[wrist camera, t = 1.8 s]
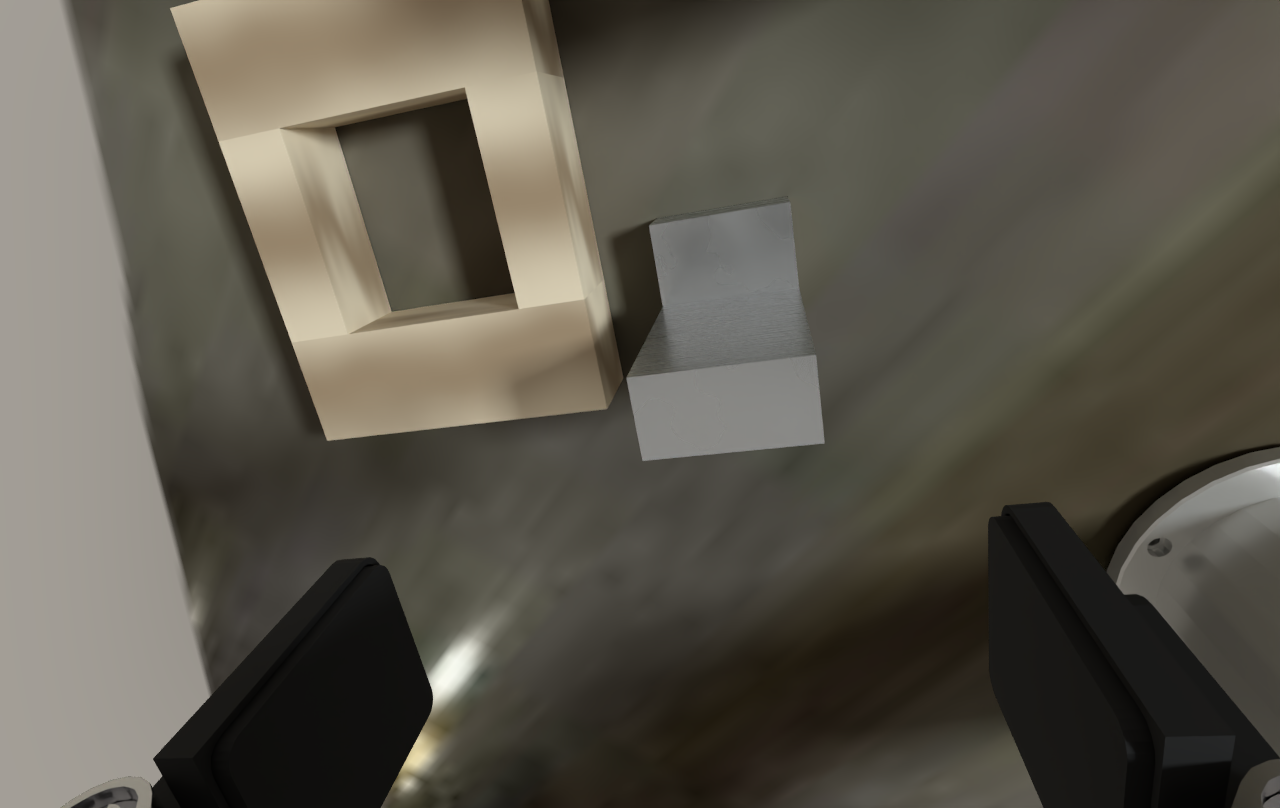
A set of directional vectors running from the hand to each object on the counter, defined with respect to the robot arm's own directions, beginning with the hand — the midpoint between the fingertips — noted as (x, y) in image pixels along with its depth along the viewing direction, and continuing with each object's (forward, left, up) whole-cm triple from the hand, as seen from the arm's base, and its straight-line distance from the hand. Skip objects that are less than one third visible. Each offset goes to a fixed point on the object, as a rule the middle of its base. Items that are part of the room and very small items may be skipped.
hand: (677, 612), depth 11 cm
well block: (+6, +11, -19) cm, 22 cm away
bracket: (+1, 0, -19) cm, 19 cm away
